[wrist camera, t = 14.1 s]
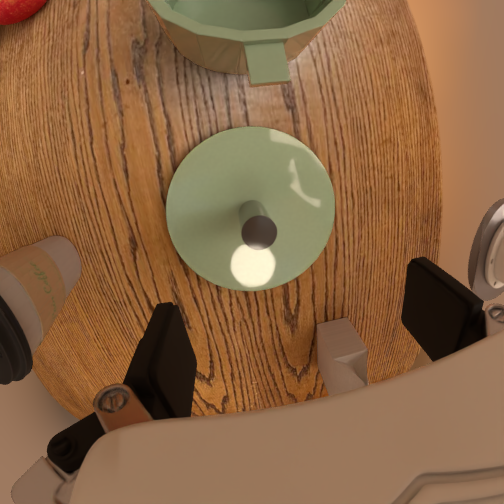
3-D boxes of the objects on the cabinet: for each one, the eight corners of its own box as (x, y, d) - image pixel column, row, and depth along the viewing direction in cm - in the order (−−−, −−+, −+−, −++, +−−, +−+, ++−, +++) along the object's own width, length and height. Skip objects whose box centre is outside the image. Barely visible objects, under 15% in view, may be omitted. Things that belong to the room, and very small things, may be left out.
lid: (321, 118, 22) (352, 111, 16) (334, 270, 28) (361, 304, 22) (153, 145, 22) (127, 146, 16) (189, 296, 27) (180, 337, 21)
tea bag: (317, 365, 33) (341, 427, 23) (316, 324, 30) (346, 389, 21) (345, 358, 33) (374, 417, 23) (347, 316, 30) (384, 377, 21)
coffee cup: (112, 272, 26) (39, 375, 12) (64, 312, 27) (2, 401, 13) (58, 199, 23) (-51, 255, 9) (17, 250, 24) (-66, 315, 10)
